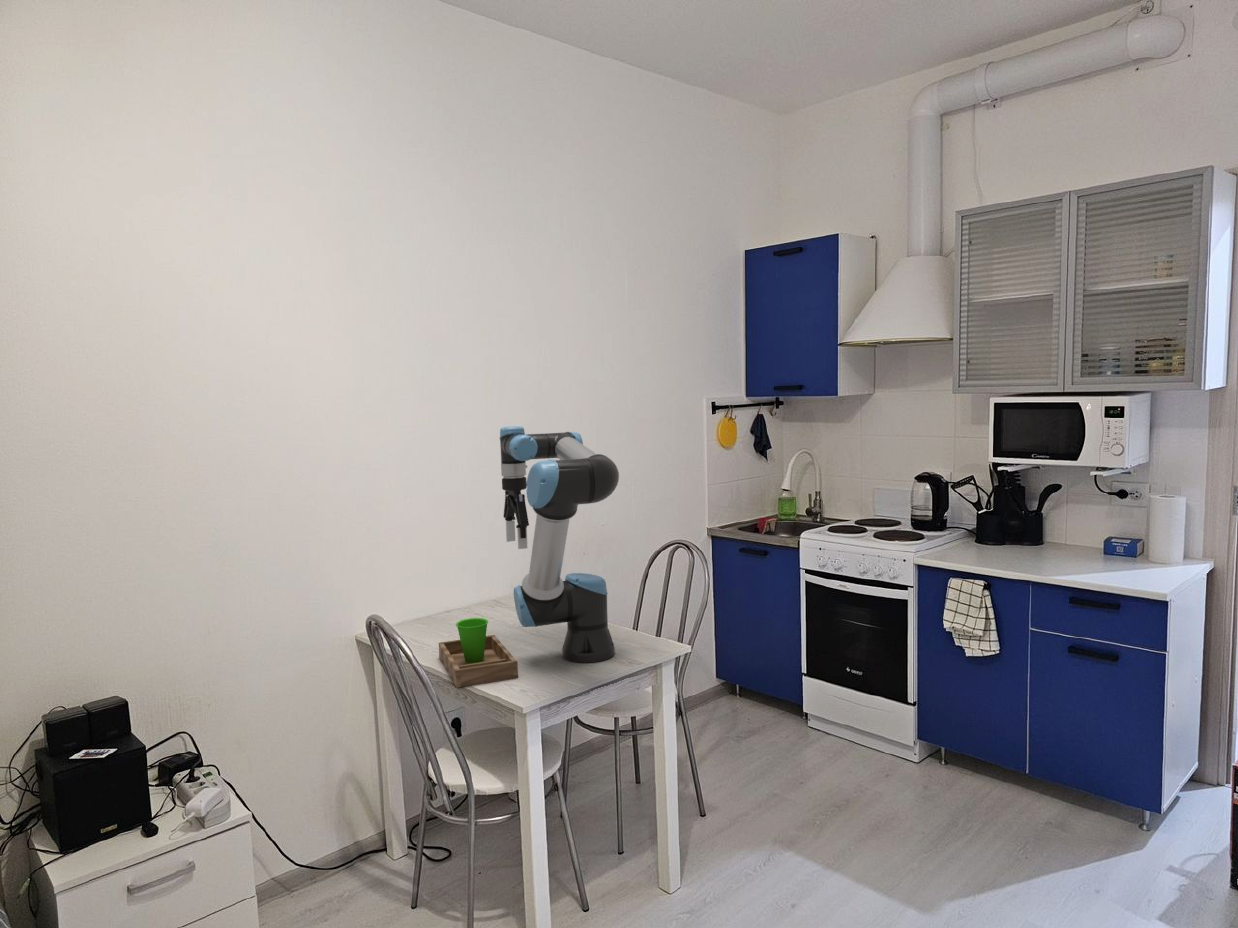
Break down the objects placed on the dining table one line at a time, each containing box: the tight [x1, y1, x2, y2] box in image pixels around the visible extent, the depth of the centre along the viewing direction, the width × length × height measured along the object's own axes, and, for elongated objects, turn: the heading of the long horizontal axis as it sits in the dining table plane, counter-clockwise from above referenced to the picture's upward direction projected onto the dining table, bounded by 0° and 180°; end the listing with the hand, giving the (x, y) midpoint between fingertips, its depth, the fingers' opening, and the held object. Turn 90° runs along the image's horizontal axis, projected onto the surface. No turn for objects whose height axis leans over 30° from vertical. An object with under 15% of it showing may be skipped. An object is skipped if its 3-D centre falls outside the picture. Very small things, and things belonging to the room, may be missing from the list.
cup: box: [455, 617, 489, 663], centre depth 230 cm, size 9×9×11 cm
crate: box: [438, 634, 519, 689], centre depth 227 cm, size 26×16×4 cm, turn 22°
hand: (516, 544), depth 253 cm, fingers open, 13 cm apart
